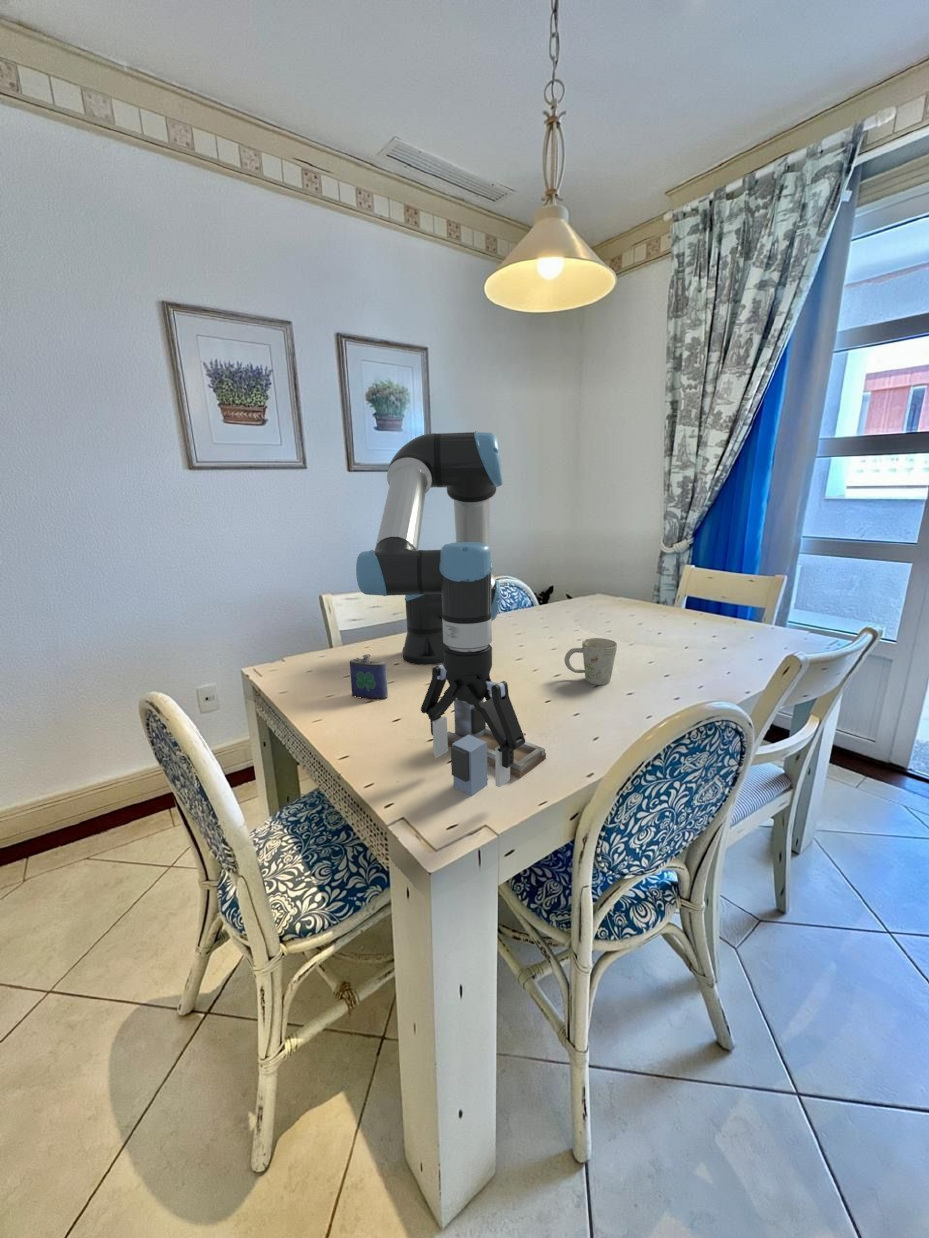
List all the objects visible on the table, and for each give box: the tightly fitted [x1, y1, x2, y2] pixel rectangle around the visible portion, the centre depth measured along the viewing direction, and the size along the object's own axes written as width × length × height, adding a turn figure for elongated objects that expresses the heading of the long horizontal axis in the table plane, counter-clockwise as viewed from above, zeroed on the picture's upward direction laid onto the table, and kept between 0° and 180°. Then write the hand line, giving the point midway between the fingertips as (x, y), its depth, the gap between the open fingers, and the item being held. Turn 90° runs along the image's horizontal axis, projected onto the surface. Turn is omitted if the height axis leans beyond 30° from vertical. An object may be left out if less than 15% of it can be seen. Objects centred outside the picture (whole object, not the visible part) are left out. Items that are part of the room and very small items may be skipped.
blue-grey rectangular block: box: [450, 735, 488, 797], centre depth 81 cm, size 4×5×8 cm
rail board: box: [447, 698, 547, 779], centre depth 91 cm, size 18×8×9 cm, turn 48°
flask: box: [349, 653, 389, 700], centre depth 117 cm, size 9×3×11 cm, turn 74°
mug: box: [564, 637, 618, 686], centre depth 123 cm, size 8×13×10 cm, turn 78°
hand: (470, 767), depth 81 cm, fingers open, 13 cm apart
